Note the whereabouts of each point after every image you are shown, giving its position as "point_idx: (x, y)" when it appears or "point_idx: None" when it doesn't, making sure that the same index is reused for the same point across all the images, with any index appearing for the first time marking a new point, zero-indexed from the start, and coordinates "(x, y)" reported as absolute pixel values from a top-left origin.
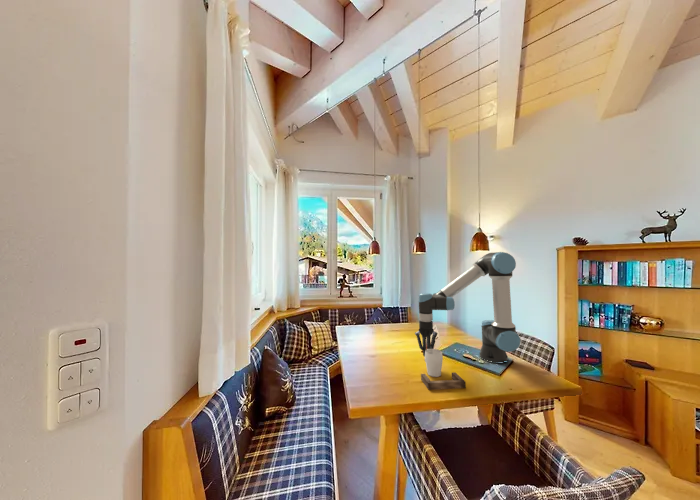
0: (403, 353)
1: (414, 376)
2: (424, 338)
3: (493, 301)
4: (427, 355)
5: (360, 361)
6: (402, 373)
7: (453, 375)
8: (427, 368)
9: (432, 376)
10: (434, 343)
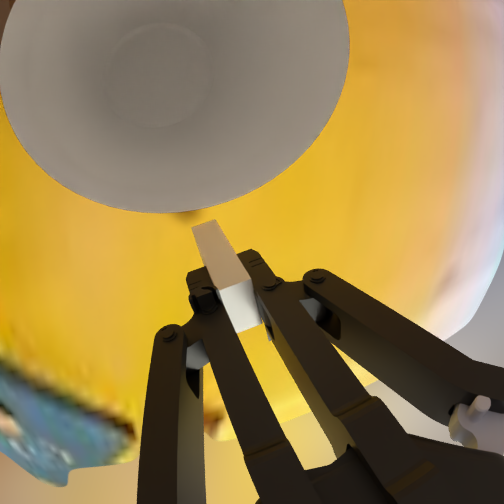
0: None
1: None
2: (376, 404)
3: None
4: None
5: (489, 213)
6: (384, 76)
7: (12, 5)
8: (232, 43)
9: (181, 26)
10: (147, 404)
